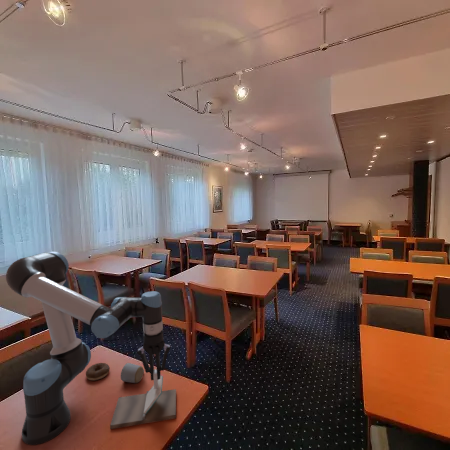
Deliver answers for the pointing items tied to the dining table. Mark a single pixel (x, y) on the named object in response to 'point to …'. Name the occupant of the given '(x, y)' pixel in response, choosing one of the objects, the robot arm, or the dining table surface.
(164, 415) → the hinge board
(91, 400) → the dining table surface
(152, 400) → the tile
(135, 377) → the ceramic mug
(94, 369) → the donut
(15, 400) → the dining table surface
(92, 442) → the dining table surface
